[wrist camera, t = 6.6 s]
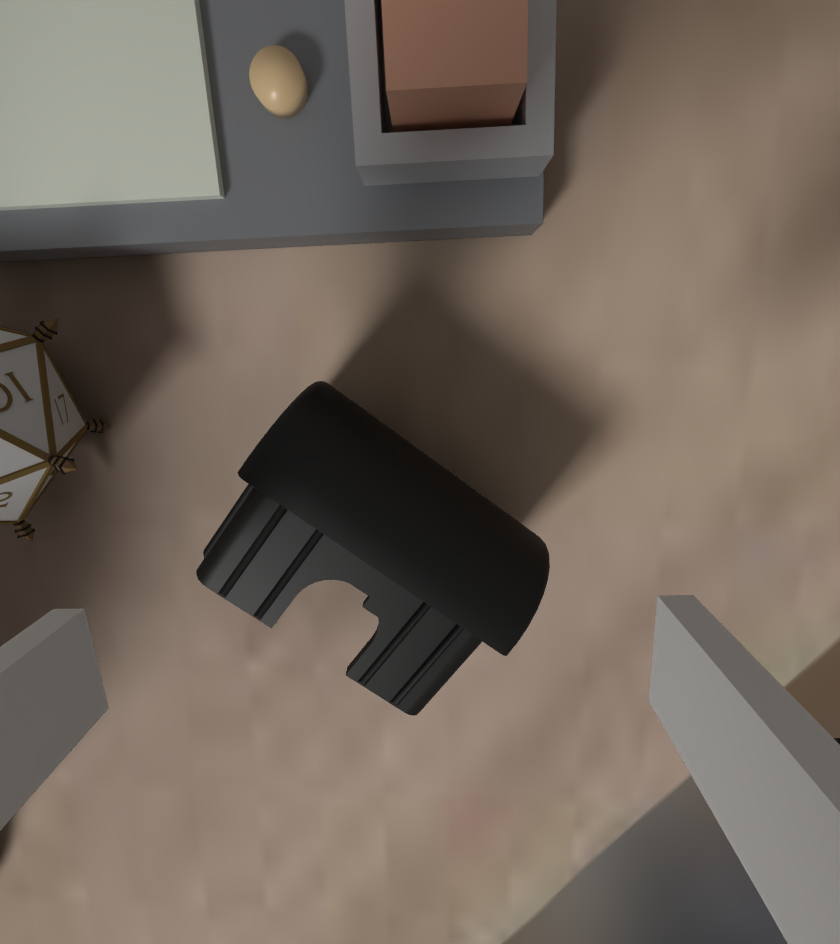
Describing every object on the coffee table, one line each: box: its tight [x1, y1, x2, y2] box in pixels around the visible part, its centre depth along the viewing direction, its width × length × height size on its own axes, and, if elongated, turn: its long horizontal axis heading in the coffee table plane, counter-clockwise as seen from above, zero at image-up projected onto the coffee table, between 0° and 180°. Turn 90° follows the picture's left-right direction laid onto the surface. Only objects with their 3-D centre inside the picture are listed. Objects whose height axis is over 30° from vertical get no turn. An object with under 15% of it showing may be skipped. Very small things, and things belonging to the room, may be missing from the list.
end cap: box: [197, 381, 550, 715], centre depth 19 cm, size 10×7×7 cm
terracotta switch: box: [381, 0, 528, 133], centre depth 14 cm, size 4×4×4 cm
